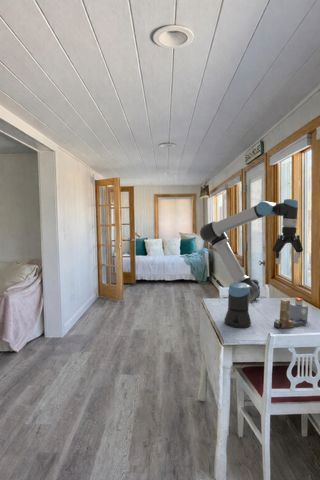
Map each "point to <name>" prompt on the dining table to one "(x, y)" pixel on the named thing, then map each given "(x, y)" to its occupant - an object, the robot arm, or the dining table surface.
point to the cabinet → (298, 312)
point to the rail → (295, 323)
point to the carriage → (285, 314)
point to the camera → (258, 287)
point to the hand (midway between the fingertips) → (287, 263)
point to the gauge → (298, 301)
